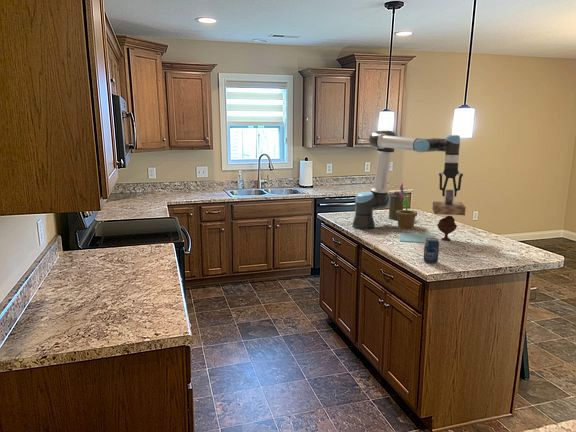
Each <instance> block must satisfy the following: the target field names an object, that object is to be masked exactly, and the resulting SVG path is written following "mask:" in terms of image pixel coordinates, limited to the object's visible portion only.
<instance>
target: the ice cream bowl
mask: <svg viewBox="0 0 576 432" xmlns="http://www.w3.org/2000/svg"><path fill="white" fill-rule="evenodd" d="M436 225H437V228H438V230H439V231H440V232H441V233H443V234H444V237H442V238H441V239H440V241H443V242H451V238H450V237H449V234H451V233H453V232H454V231H456V229H457V227H458V225H457V224H456V221H455V218H454V216H453V215H445V217H444V218H443V217H442V218H440V219H439V221H438V223H436Z"/></svg>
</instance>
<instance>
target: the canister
mask: <svg viewBox="0 0 576 432" xmlns="http://www.w3.org/2000/svg"><path fill="white" fill-rule="evenodd" d="M400 192H401V191H393V194H389V197H390V203H389V205H388V220H393V221H398V218H397V215H396V211H398V210H404V205H403V204H402V203H403V202H404V198H405V196H404V194H403V198H402V199H401V201H400Z"/></svg>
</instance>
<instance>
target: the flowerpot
mask: <svg viewBox="0 0 576 432" xmlns="http://www.w3.org/2000/svg"><path fill="white" fill-rule="evenodd" d="M399 190H400V191H399V192H400V193H399V195H400V201H401V199H402V198H403V195H404V198H405V200H403V203H402V204H403V206H405V209H403V210H398V211H396V215H397V218H398V220H397V226H398V228H401V229H412V228H414V225H415V221H416V217H417V216H418V211H415V210H408V208H409V207H410V204H408V197H407V195H406V192H404V183H403V182H401V185H400V187H399Z"/></svg>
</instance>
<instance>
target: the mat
mask: <svg viewBox="0 0 576 432" xmlns="http://www.w3.org/2000/svg"><path fill="white" fill-rule="evenodd" d="M426 238H435V237H434V235H433V234H431V233H430V234H427V233H425V234H424V233H412V232H411V233H409V232H408V233H407V232H399V242H402V243H403V242H404V243H405V242H406V243H420V244H421V243H422V244H424V243H425V241H426Z"/></svg>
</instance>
